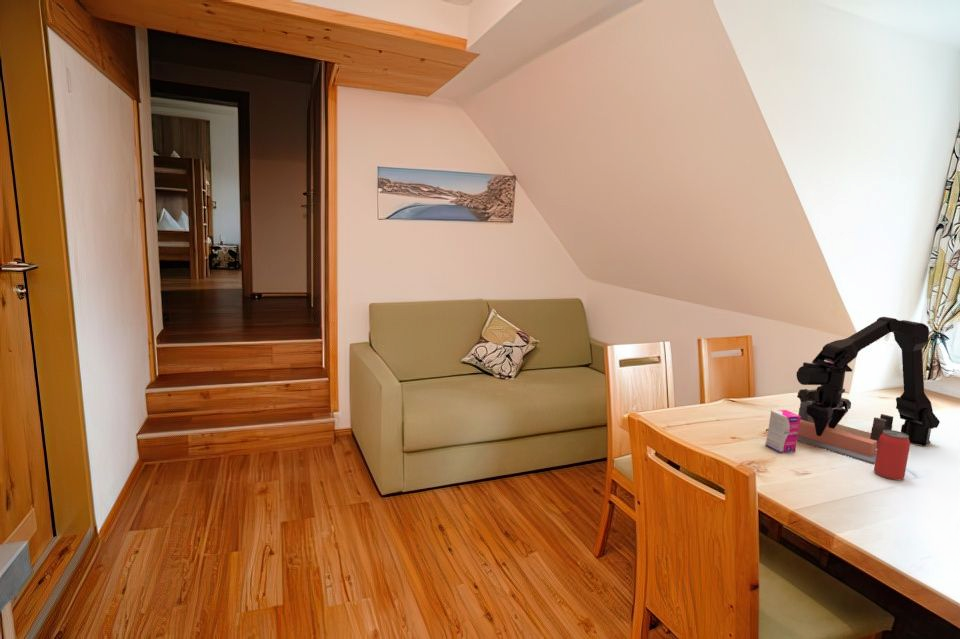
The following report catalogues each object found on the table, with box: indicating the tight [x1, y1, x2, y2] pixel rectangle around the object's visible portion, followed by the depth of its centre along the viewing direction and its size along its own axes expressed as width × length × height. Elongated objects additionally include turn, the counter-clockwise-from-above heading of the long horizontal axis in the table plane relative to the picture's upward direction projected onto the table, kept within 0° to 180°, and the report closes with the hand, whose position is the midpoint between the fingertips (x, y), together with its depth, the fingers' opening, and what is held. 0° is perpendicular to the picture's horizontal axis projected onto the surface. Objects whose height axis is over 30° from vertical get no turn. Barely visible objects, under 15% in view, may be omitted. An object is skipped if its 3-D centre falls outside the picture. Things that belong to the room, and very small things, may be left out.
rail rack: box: [797, 401, 894, 448], centre depth 173 cm, size 28×10×9 cm, turn 37°
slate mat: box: [765, 428, 877, 465], centre depth 165 cm, size 30×12×1 cm, turn 37°
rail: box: [798, 420, 877, 457], centre depth 165 cm, size 26×4×4 cm, turn 37°
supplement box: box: [765, 409, 801, 454], centre depth 158 cm, size 6×6×12 cm
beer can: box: [873, 429, 911, 481], centre depth 142 cm, size 7×7×12 cm
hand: (824, 432), depth 165 cm, fingers open, 9 cm apart
